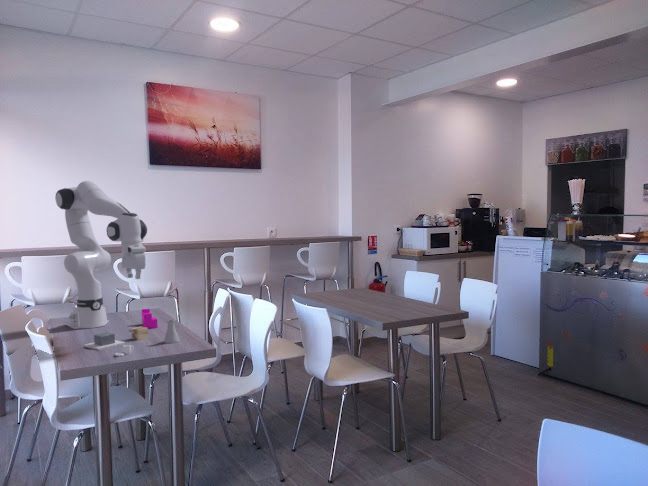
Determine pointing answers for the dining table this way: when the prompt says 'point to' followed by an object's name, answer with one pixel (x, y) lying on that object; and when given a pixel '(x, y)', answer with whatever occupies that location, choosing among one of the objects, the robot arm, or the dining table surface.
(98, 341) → the white platform base
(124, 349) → the teacup and saucer
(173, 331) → the flask
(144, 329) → the beech block
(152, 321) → the toy block
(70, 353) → the dining table surface
